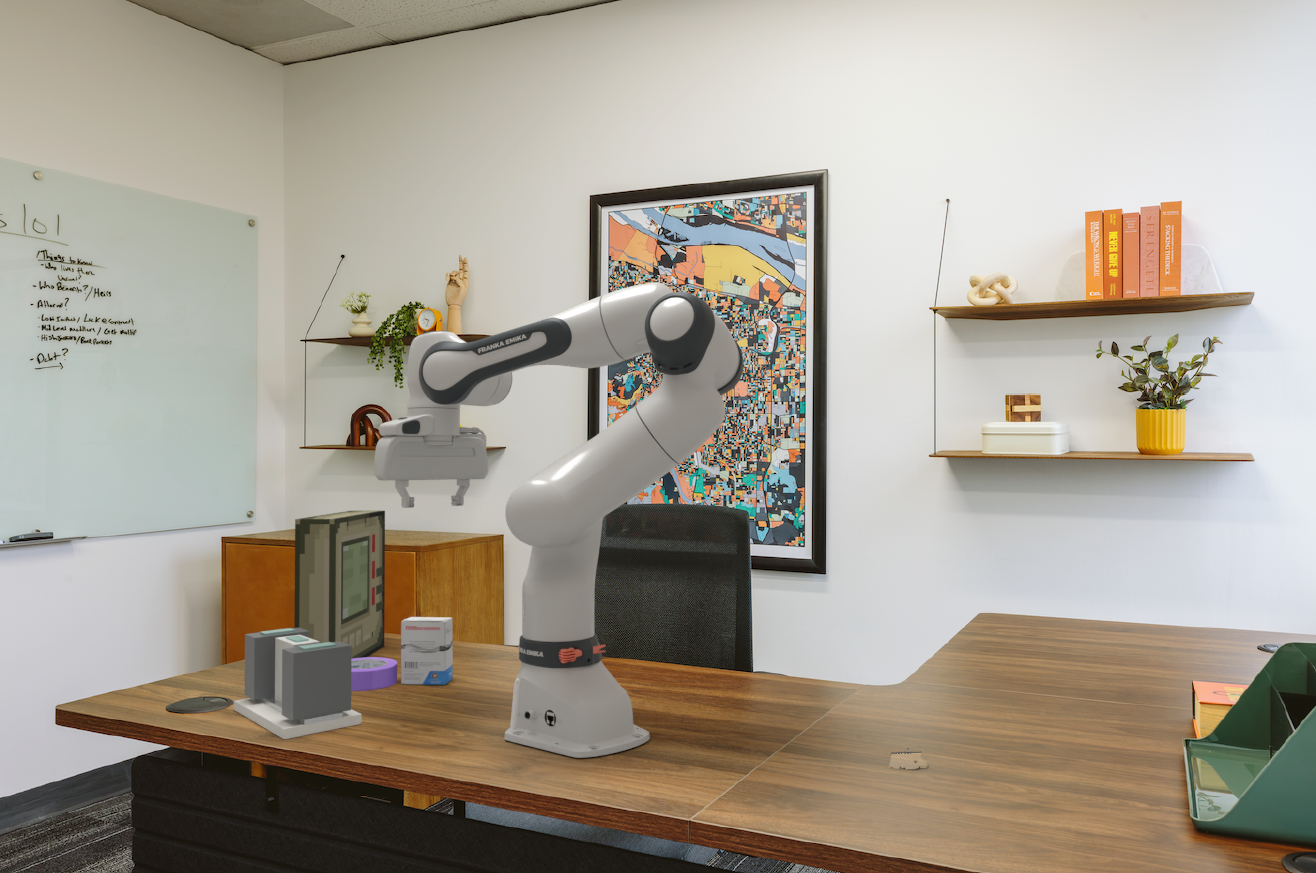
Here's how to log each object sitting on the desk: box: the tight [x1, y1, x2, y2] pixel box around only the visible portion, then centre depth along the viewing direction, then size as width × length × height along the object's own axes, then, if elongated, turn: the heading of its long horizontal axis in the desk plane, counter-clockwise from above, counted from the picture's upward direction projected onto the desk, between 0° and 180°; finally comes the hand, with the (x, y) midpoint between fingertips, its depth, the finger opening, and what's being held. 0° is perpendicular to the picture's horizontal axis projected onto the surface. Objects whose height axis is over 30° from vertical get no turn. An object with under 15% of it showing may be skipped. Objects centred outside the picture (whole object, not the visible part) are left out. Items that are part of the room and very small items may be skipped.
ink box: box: [400, 616, 454, 686], centre depth 173 cm, size 8×5×12 cm, turn 84°
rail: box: [257, 697, 343, 725], centre depth 149 cm, size 22×6×1 cm, turn 42°
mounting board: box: [233, 697, 363, 740], centre depth 149 cm, size 22×12×2 cm, turn 42°
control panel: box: [293, 510, 386, 659], centre depth 191 cm, size 30×8×30 cm, turn 178°
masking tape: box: [351, 656, 398, 692], centre depth 172 cm, size 12×12×4 cm
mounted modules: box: [244, 627, 352, 721], centre depth 149 cm, size 21×9×10 cm, turn 42°
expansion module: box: [275, 635, 320, 703], centre depth 149 cm, size 4×8×10 cm, turn 42°
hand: (433, 506), depth 160 cm, fingers open, 8 cm apart
